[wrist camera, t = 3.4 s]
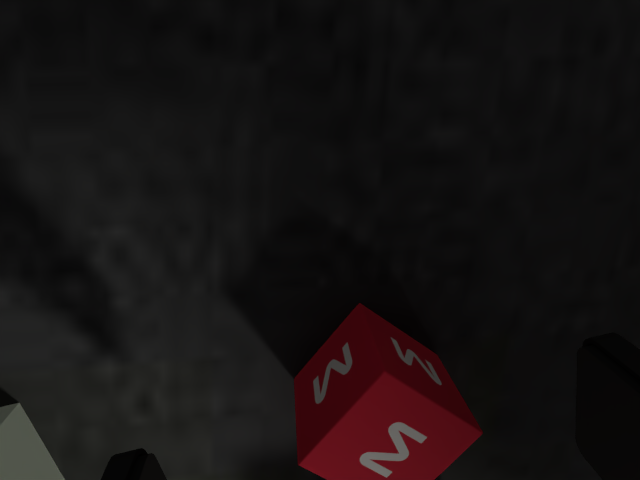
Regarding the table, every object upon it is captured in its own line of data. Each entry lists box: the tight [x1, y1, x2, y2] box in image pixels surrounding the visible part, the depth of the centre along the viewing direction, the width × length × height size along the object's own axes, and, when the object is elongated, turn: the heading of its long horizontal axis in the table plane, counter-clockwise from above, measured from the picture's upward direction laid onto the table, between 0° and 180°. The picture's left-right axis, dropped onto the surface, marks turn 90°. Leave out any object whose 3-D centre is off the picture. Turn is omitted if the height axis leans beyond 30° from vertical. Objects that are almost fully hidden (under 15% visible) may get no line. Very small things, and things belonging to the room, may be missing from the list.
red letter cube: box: [294, 303, 483, 480], centre depth 11 cm, size 3×3×3 cm
